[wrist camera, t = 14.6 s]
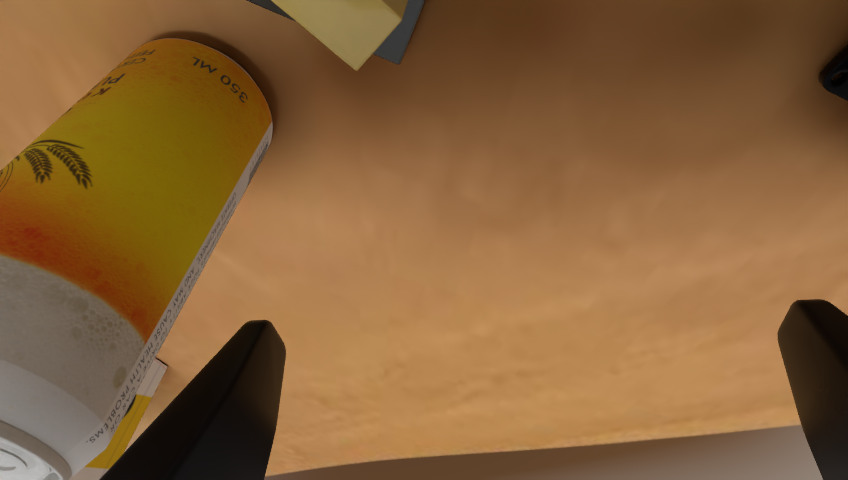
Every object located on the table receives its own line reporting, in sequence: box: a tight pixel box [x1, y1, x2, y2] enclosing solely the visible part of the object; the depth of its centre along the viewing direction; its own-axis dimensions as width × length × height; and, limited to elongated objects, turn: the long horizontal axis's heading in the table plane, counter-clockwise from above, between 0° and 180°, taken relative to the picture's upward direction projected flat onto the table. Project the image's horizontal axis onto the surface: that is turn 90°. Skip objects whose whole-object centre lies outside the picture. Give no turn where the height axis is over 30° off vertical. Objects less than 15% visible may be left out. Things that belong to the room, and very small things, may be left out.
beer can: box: [0, 38, 273, 480], centre depth 17 cm, size 6×6×15 cm
